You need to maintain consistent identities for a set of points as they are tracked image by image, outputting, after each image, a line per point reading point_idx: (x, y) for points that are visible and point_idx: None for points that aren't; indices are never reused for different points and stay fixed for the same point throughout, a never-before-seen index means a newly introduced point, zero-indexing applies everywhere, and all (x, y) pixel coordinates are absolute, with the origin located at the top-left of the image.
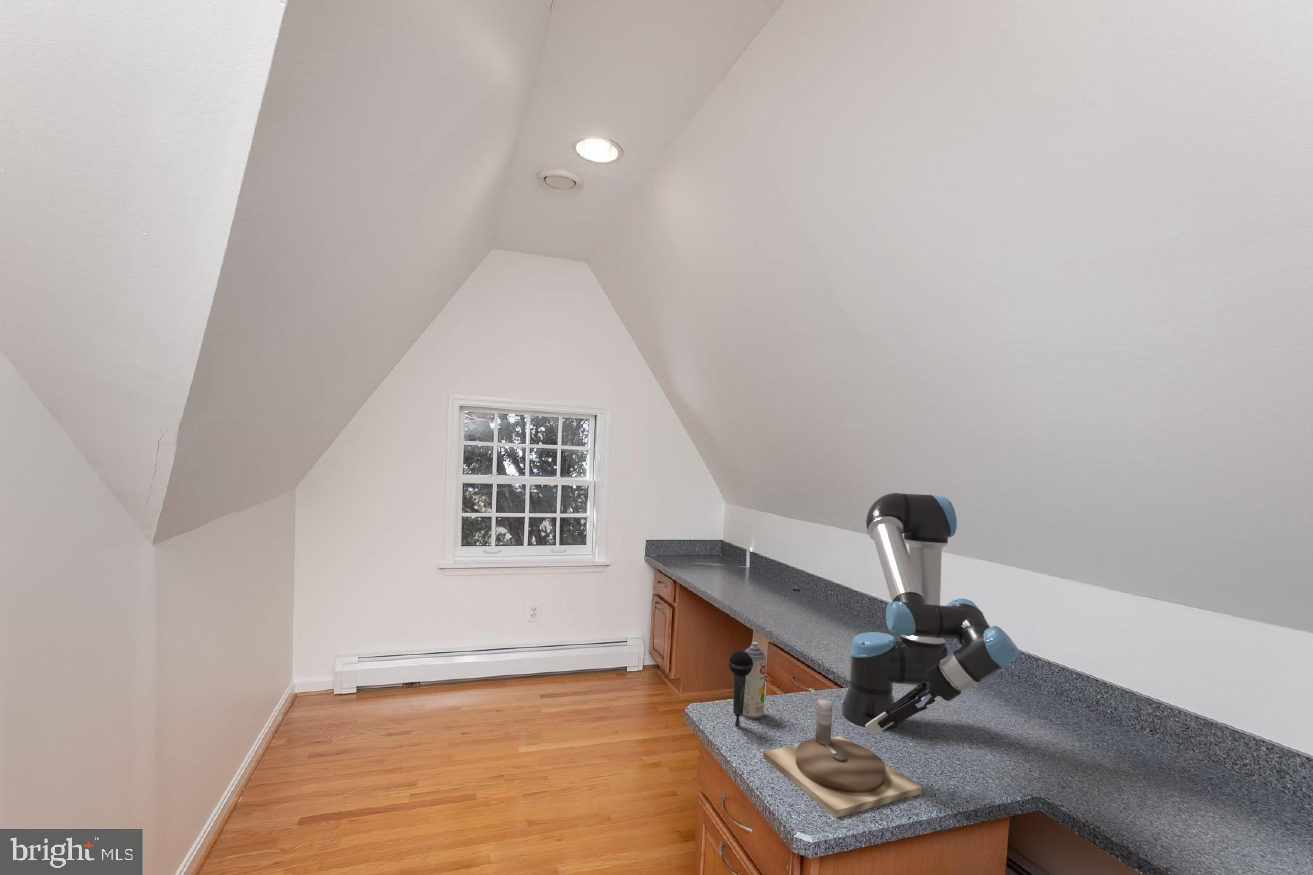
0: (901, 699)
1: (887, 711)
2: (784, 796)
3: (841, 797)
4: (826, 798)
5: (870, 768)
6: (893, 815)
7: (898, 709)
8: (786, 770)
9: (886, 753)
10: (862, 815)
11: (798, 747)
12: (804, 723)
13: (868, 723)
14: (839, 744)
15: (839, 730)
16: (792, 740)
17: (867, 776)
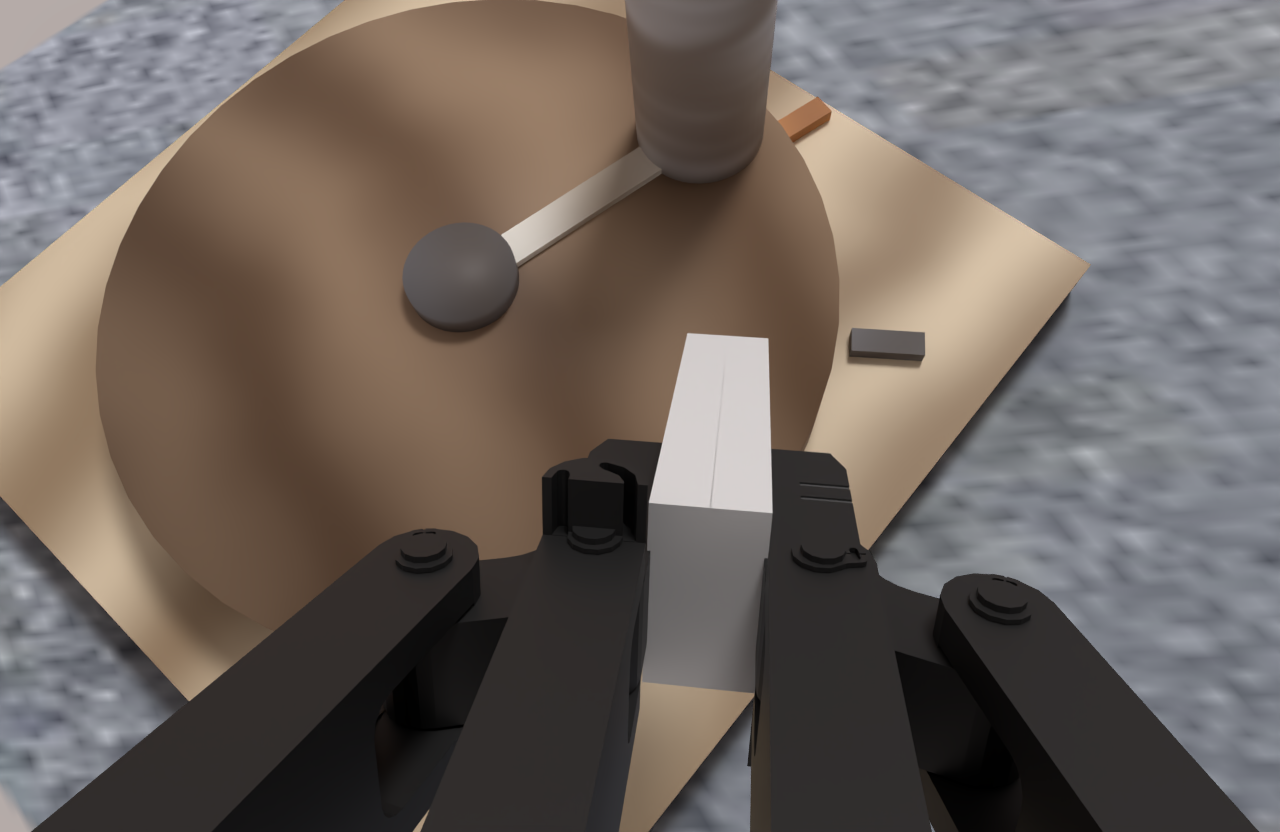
0: (1053, 781)
1: (572, 512)
2: (86, 110)
3: (66, 387)
4: (23, 303)
5: (400, 529)
6: (67, 766)
7: (177, 717)
8: (295, 42)
9: (1115, 664)
10: (5, 550)
11: (497, 9)
12: (1183, 18)
13: (712, 352)
14: (724, 246)
15: (1273, 250)
16: (835, 7)
17: (242, 516)
